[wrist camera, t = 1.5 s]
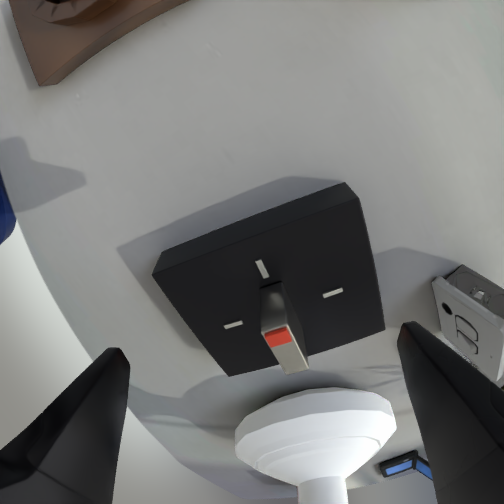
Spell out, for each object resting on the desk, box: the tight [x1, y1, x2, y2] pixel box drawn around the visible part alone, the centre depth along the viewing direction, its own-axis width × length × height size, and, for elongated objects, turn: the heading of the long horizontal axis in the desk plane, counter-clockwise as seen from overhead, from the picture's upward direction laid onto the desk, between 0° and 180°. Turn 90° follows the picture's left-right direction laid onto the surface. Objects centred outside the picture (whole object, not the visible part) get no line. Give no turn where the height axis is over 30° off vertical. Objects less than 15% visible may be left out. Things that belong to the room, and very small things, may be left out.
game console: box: [379, 450, 433, 481], centre depth 48 cm, size 16×14×9 cm
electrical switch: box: [432, 264, 504, 381], centre depth 21 cm, size 9×5×9 cm, turn 33°
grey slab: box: [259, 282, 309, 375], centre depth 19 cm, size 5×2×4 cm, turn 23°
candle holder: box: [235, 387, 397, 504], centre depth 26 cm, size 20×20×19 cm
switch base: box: [152, 182, 385, 377], centre depth 22 cm, size 14×12×3 cm
